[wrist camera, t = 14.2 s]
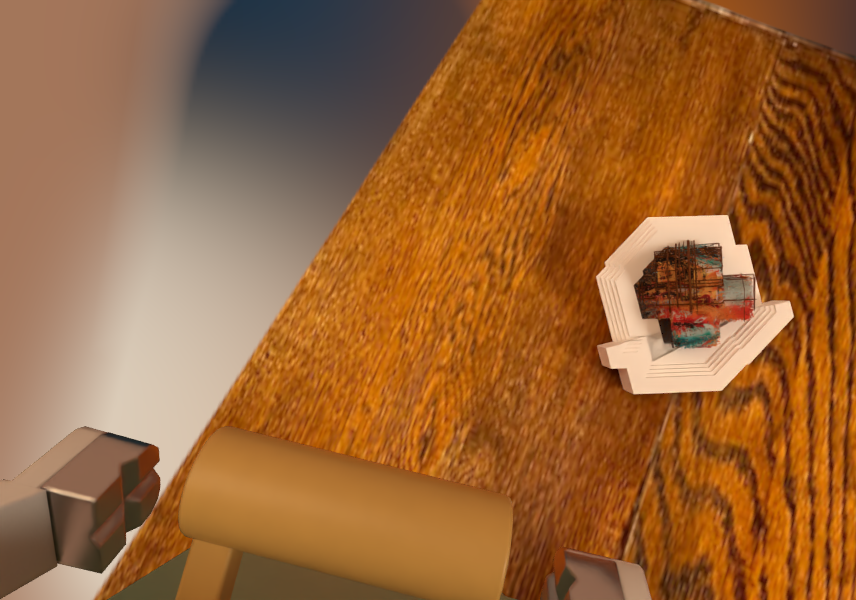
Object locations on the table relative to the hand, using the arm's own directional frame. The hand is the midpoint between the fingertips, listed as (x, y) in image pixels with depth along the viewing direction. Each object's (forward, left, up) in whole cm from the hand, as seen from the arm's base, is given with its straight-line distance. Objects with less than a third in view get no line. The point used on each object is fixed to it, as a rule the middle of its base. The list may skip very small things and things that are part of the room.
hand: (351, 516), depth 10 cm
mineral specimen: (+15, +16, -22) cm, 31 cm away
